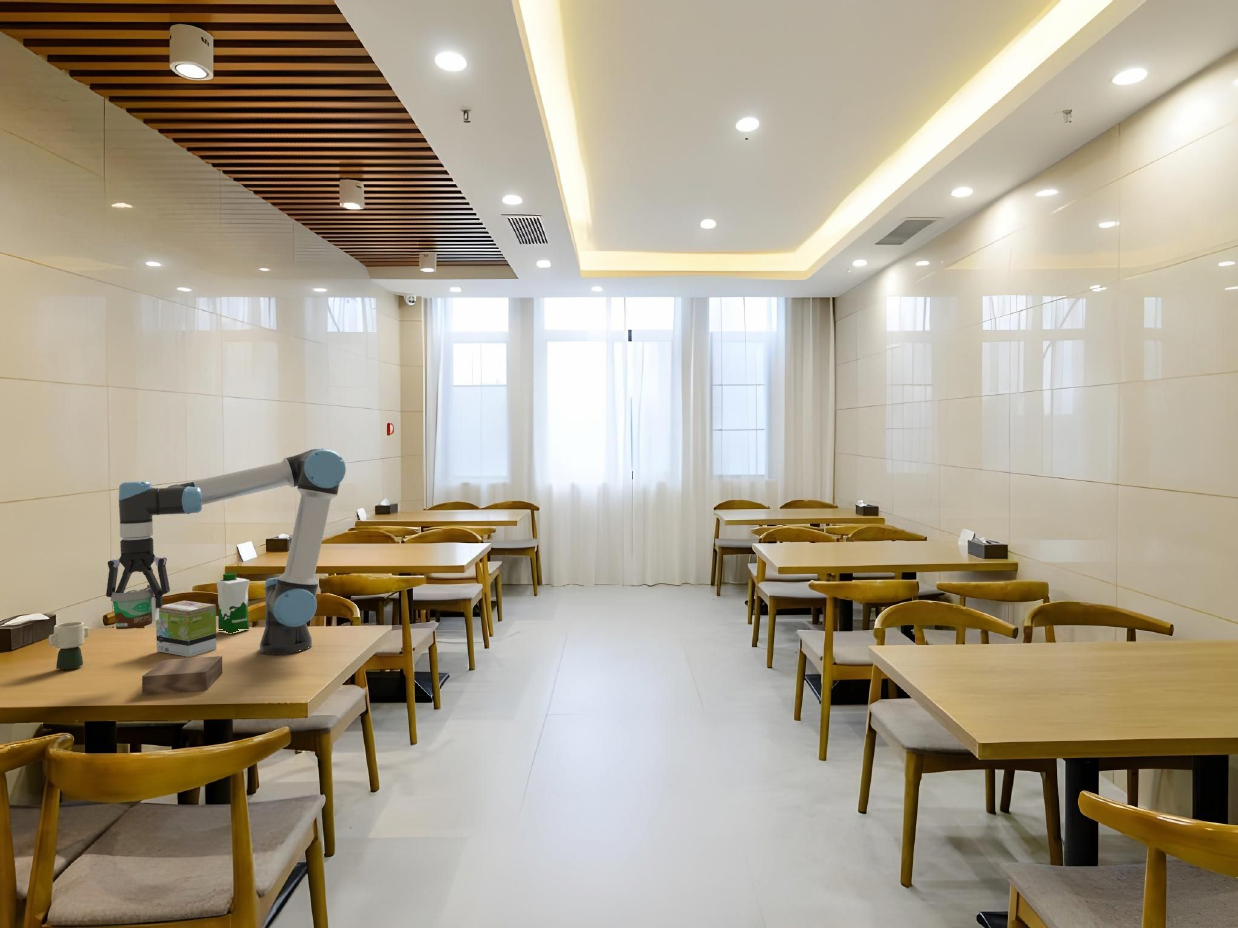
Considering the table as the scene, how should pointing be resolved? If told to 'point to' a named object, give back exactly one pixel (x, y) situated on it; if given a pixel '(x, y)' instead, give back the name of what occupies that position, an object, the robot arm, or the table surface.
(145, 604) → the food container
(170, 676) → the walnut plinth
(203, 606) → the tea box
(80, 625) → the character mug
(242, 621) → the milk carton
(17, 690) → the table surface
